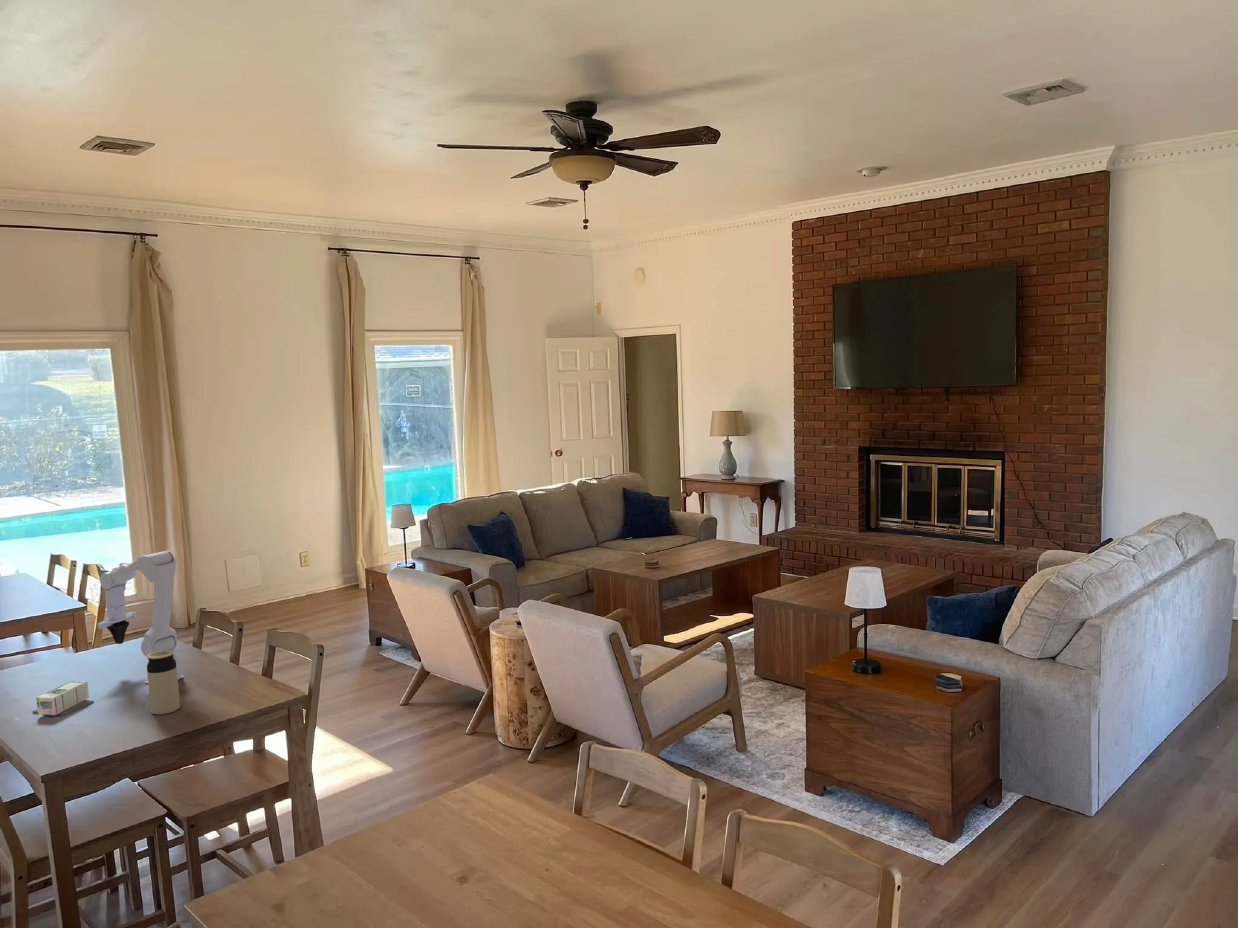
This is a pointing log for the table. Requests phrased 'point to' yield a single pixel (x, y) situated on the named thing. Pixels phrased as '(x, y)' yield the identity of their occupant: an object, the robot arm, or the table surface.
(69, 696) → the syrup box
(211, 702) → the table surface
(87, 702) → the mat
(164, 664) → the travel mug
